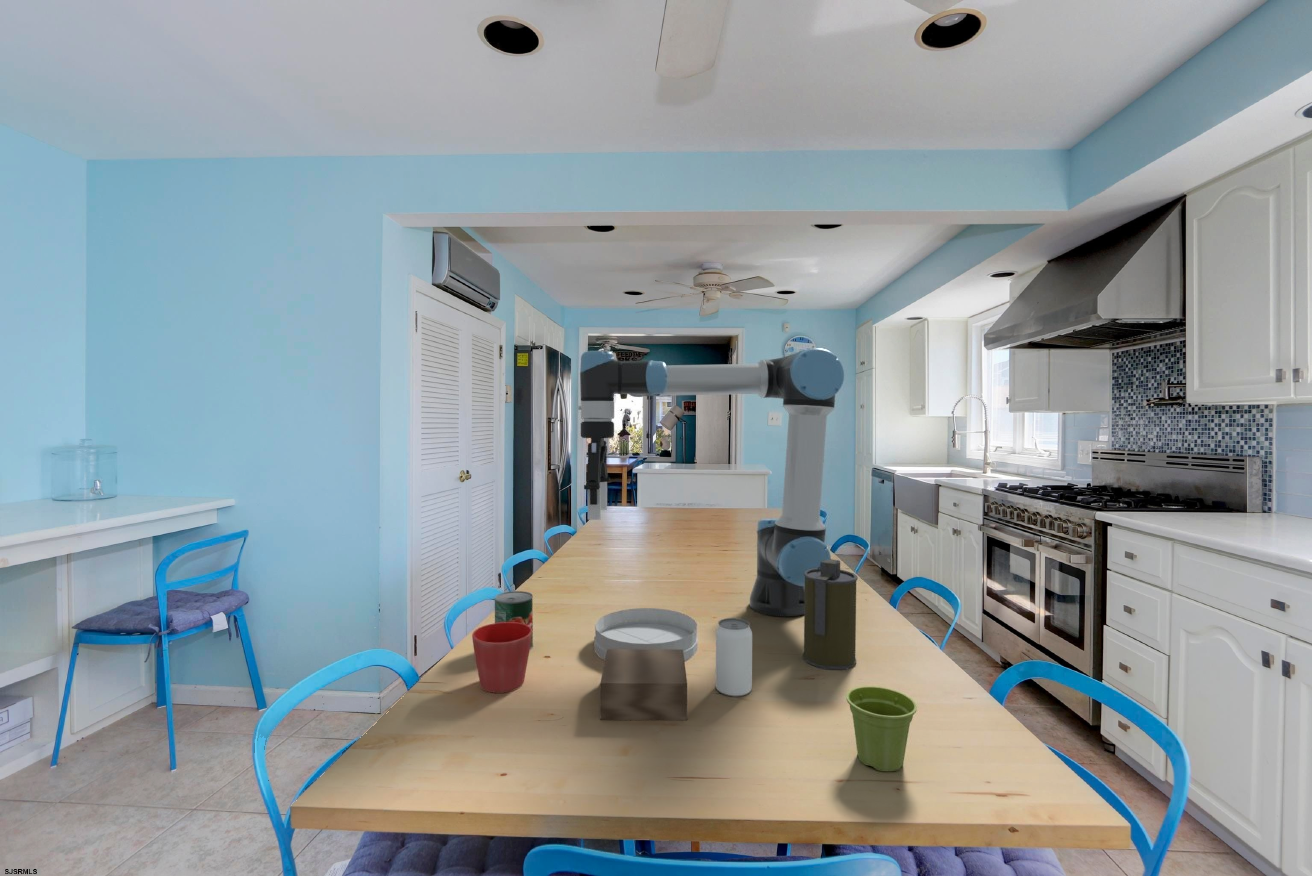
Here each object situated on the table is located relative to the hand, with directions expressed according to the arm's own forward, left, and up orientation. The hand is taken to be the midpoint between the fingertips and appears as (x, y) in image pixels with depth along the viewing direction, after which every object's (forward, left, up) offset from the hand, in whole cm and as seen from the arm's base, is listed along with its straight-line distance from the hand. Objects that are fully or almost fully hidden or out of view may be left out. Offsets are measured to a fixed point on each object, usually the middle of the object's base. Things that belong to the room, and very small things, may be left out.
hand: (597, 514), depth 134 cm
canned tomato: (+17, +10, -27) cm, 33 cm away
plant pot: (-45, +51, -27) cm, 73 cm away
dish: (-11, +9, -27) cm, 31 cm away
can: (-27, +29, -27) cm, 48 cm away
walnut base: (-11, +33, -27) cm, 44 cm away
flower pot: (+15, +27, -27) cm, 41 cm away
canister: (-48, +16, -27) cm, 57 cm away
